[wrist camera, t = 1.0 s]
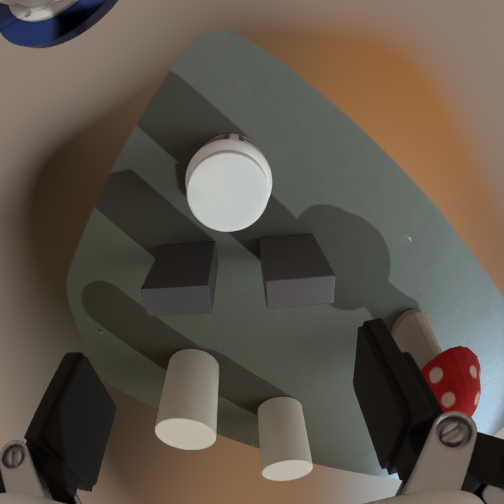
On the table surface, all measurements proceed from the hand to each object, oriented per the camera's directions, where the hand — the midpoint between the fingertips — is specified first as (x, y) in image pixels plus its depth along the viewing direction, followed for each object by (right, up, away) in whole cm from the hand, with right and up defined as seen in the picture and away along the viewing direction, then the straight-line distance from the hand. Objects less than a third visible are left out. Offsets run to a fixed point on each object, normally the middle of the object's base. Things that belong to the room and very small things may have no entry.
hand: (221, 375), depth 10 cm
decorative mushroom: (+20, -5, +26) cm, 33 cm away
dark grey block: (-5, +4, +20) cm, 21 cm away
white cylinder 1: (-6, -10, +26) cm, 28 cm away
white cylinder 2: (+5, -17, +30) cm, 35 cm away
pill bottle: (-1, +11, +17) cm, 21 cm away
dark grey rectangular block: (+4, +4, +20) cm, 21 cm away
